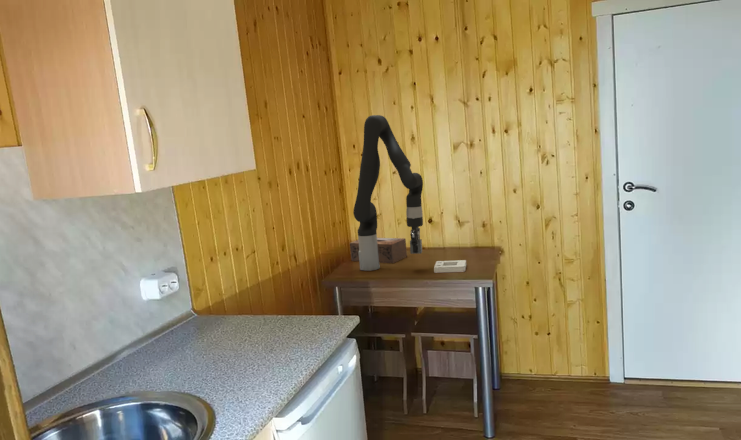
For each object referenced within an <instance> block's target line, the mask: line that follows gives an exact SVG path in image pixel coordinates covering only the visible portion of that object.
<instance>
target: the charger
mask: <svg viewBox="0 0 741 440" xmlns="http://www.w3.org/2000/svg"><path fill="white" fill-rule="evenodd" d="M414 242H415V241H414ZM409 249H410V252H409V253H410V254H417V255H420V254H422V253H423V241H422V239H421V238H420V239H419V240H418V253H413V245H412V244H411V239H410V240H409Z"/></svg>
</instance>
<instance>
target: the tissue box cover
mask: <svg viewBox="0 0 741 440" xmlns="http://www.w3.org/2000/svg"><path fill="white" fill-rule="evenodd" d="M406 241H407V240H406V238H404V237H403V238H401V237H400V238H399V237H398V238H397V237H395V238H394V237H377V243H378V254H379V263H383V264H385V263H387V264H395V263H397V262H398V261H401V260H403V259H405V258H407V257H408V254H407V242H406ZM349 249H350V251H349V252H350V259H351V262H359V253H358V251H359V241H358V239H356V240H354V241H351V242H349Z"/></svg>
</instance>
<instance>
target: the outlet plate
mask: <svg viewBox="0 0 741 440" xmlns="http://www.w3.org/2000/svg"><path fill="white" fill-rule="evenodd" d="M466 269H467V259H462V260H461V259H459V260H458V259H457V260H437V261H435V264H434V267H433V272H434V273H435V274H436V273H437V274H438V273H462V272H463V273H465V272H466Z"/></svg>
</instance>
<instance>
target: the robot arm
mask: <svg viewBox="0 0 741 440" xmlns="http://www.w3.org/2000/svg"><path fill="white" fill-rule="evenodd" d="M363 124H364V125H363V144H362V145H363V146H362V153H361V161H360V167H359V176H358V185H357V192H356V198H355V203H354V206H353V217H354V219H355V221H356V222H359V227H358V229H357V238H358V239H357V240H358V241H359V251H358V253H359V261H358V262H359V270H360V271H365V272H367V271H368V272H370V271H376V270H379V269H380V268H381V267H380V266H381V265H380V262H379V254H378V243H377V238H378V235H377V230H378V213H377V208H376V206H375V204H374V203H373V202H372V196H373V193H374V190H375V187H376V185H377V182H378V181H379V175H380V169H381V160H380V155H379V148H378V147H379V140H381V141H382V142H383V144H384V147H385V148H386V152H387V155H388V159H389V160H390V162H391V163H392V165H393V166H394V168H395V169H396V171H397V173H398V176H399V178H400V180H401V183H402V185H403V187H405V188H406V189H408V194H407V195H406V197H405V204H406V211H405V213H406V226H407V227H408V228H411V229H410V240H411V244H412V245H413V253H418V240H419V239H421V228H419V227H423V224H424V218H423V217H424V215H423V208H422V207H423V206H422V194H423V187H424V182H423V181H424V180H423V177H422V175H421V174H420V173H419V172H413V171H412V169H411V167H412V164H411V161H410V160H409V159H408V157H407V156H406V154H405V153H404V151H403V149H402V148H401V146H400V145H399V143H398V141H397V139H396V137H395V135H394V133H393V130H392V128H391V125H390V124H389V121H388V120H387V118H386V117H385V116H384V115H381V114H377V115H376V114H373V115H369V116H367V118H366V119H365V120H364V123H363ZM379 138H380V139H379ZM414 241H415V242H414Z"/></svg>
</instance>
